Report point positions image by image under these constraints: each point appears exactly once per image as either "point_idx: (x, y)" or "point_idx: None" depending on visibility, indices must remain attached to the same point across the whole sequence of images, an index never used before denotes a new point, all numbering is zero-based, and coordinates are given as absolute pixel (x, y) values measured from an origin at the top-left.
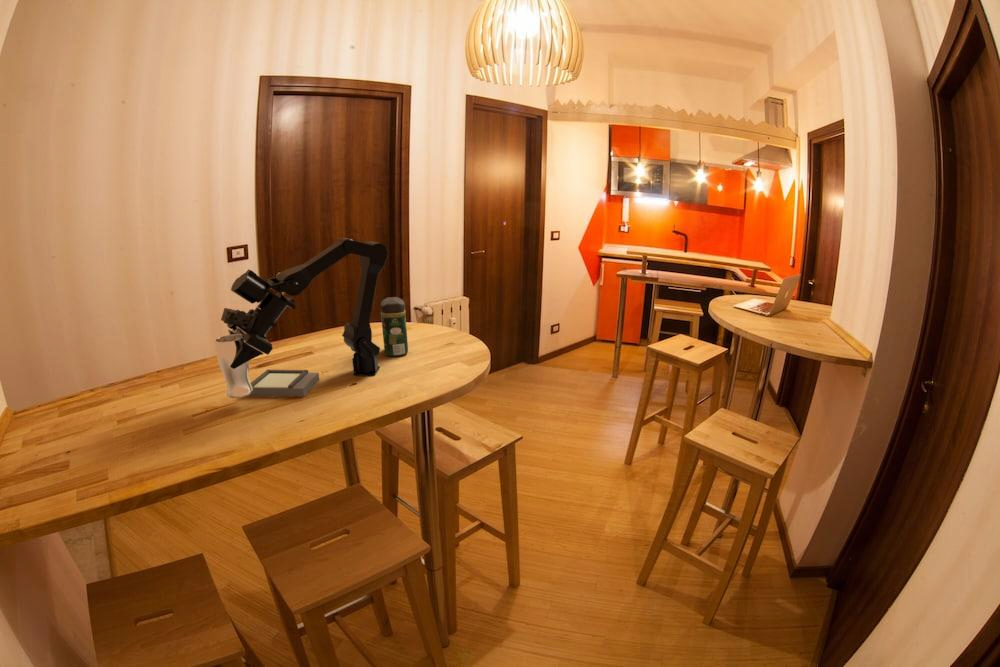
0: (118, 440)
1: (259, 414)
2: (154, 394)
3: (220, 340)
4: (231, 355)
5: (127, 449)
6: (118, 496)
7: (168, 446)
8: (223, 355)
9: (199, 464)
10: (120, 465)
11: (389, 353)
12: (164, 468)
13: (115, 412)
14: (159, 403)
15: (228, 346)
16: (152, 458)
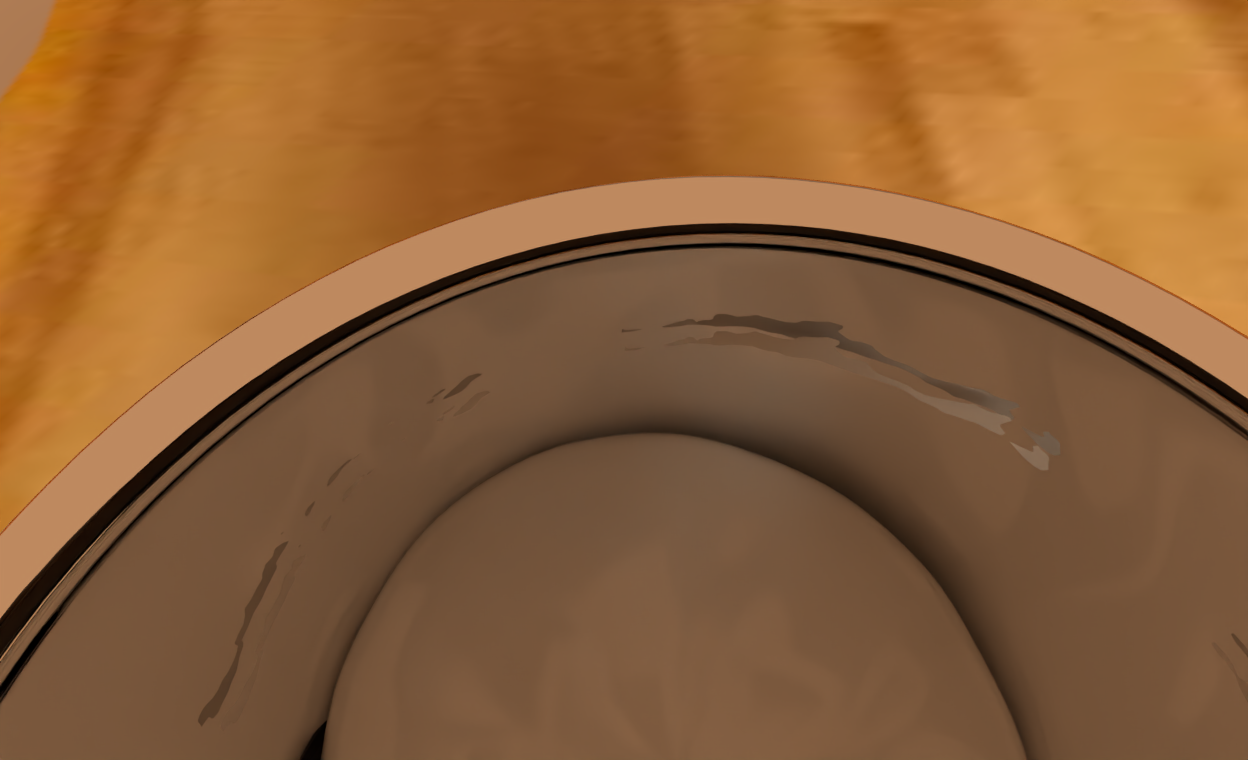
0: (615, 19)
1: None
2: (1222, 188)
3: (1225, 532)
4: (279, 682)
5: (478, 42)
6: (56, 3)
7: (359, 180)
8: (404, 489)
9: (14, 273)
10: (330, 16)
11: None
12: (131, 145)
13: (1011, 20)
14: (1036, 198)
15: (97, 675)
16: (285, 115)
